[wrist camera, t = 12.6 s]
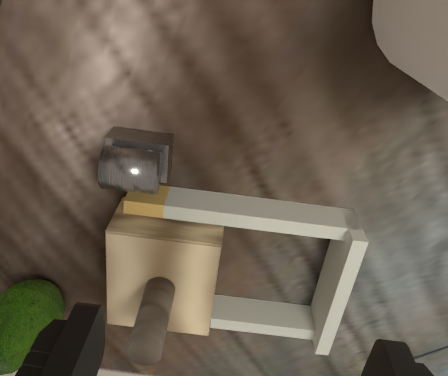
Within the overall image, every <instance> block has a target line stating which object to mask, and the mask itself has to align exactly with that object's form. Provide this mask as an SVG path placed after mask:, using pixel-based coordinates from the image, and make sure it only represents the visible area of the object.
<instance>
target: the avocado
mask: <svg viewBox="0 0 448 376" xmlns="http://www.w3.org/2000/svg"><path fill="white" fill-rule="evenodd" d="M64 310H65V302H64V298H63V296H62V293H61V291H60V289H59V288H58V287H57V286H55V285H54V284H52V283H51V282H49V281H46V280H42V279H32V280H25V281H22V282H19V283H16V284H14V285H12V286H11V287H9V288H8V289H7V290H6V291H5V292H3V293H2V294H1V295H0V375H3V374H9V373H13V372H15V371H17V370H18V369H19V368H20V367H21V366H22V362H23V360H24V359H25V357H26V355H27V353H29V351H30V348H31V346H32V344H33V342H34V341H35V339H36V337H37V335H38V333H39V332H40V331H41V330H42V329H44V328H45V327H46V326H47V325H48V324H49V323H50V322H51V321H53V320H54V319H59V320H63V317H64Z"/></svg>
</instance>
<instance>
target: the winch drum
mask: <svg viewBox="0 0 448 376" xmlns="http://www.w3.org/2000/svg"><path fill="white" fill-rule="evenodd" d="M173 137H174V134H168V133H160V132H152V131H144V130H137V129H129V128H121V127H113V128H112V130H111V131H110V132H109V133H108V135H107V136H106V137H105V146H104V148H103V150H102V152H101V155H100V159H99V165H98V183H99V186H100V188H103V189H111V190H119V191H127V192H135V193H143V194H151V195H157V193H158V191H159V187H160V182H162V183H167V181H168V178H169V175H170V172H171V167H172V152H173Z"/></svg>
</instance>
